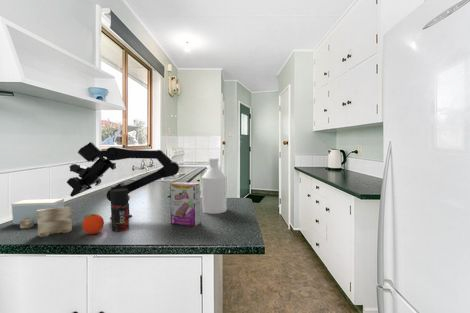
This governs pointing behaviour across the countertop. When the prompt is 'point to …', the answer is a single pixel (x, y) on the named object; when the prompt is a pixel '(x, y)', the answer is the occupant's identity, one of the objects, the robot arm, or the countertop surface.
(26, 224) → the left marker cube
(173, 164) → the robot arm
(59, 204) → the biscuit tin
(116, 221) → the deodorant
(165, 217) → the countertop surface
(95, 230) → the clementine
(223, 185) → the bottle
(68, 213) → the beige layered block
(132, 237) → the countertop surface
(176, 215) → the candy bar box
